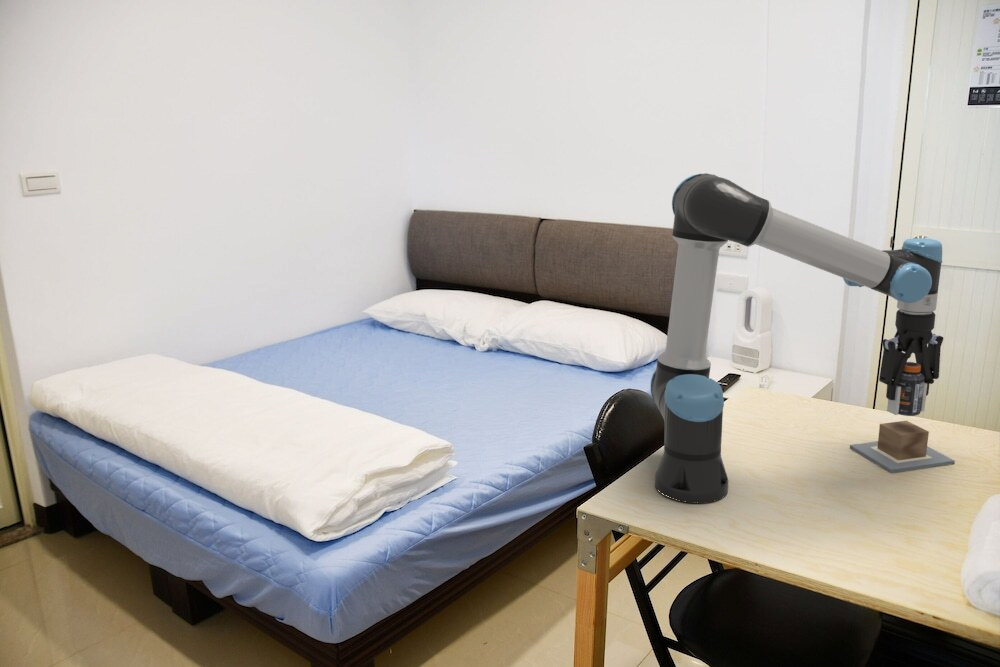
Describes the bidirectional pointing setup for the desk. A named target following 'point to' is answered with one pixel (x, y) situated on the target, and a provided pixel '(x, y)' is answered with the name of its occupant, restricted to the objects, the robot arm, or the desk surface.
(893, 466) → the board
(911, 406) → the pill bottle
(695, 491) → the robot arm
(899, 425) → the walnut block
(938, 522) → the desk surface
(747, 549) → the desk surface
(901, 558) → the desk surface
